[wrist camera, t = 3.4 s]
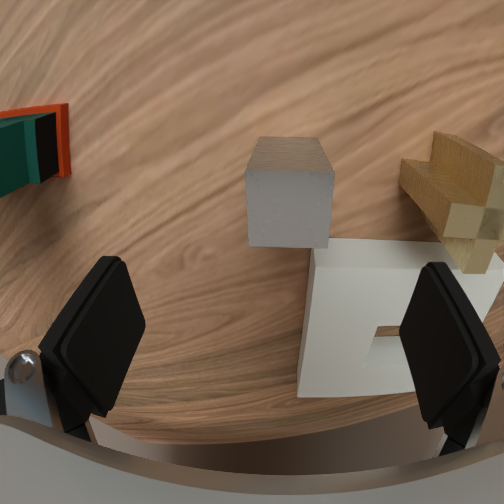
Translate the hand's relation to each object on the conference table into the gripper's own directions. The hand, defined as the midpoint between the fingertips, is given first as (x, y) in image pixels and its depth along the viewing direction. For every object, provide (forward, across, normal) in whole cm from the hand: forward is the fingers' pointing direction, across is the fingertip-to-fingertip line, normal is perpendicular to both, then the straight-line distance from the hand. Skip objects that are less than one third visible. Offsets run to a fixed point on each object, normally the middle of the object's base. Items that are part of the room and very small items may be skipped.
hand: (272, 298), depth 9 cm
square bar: (+14, -1, 0) cm, 14 cm away
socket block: (+14, -12, +15) cm, 24 cm away
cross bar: (+14, -13, 0) cm, 19 cm away
